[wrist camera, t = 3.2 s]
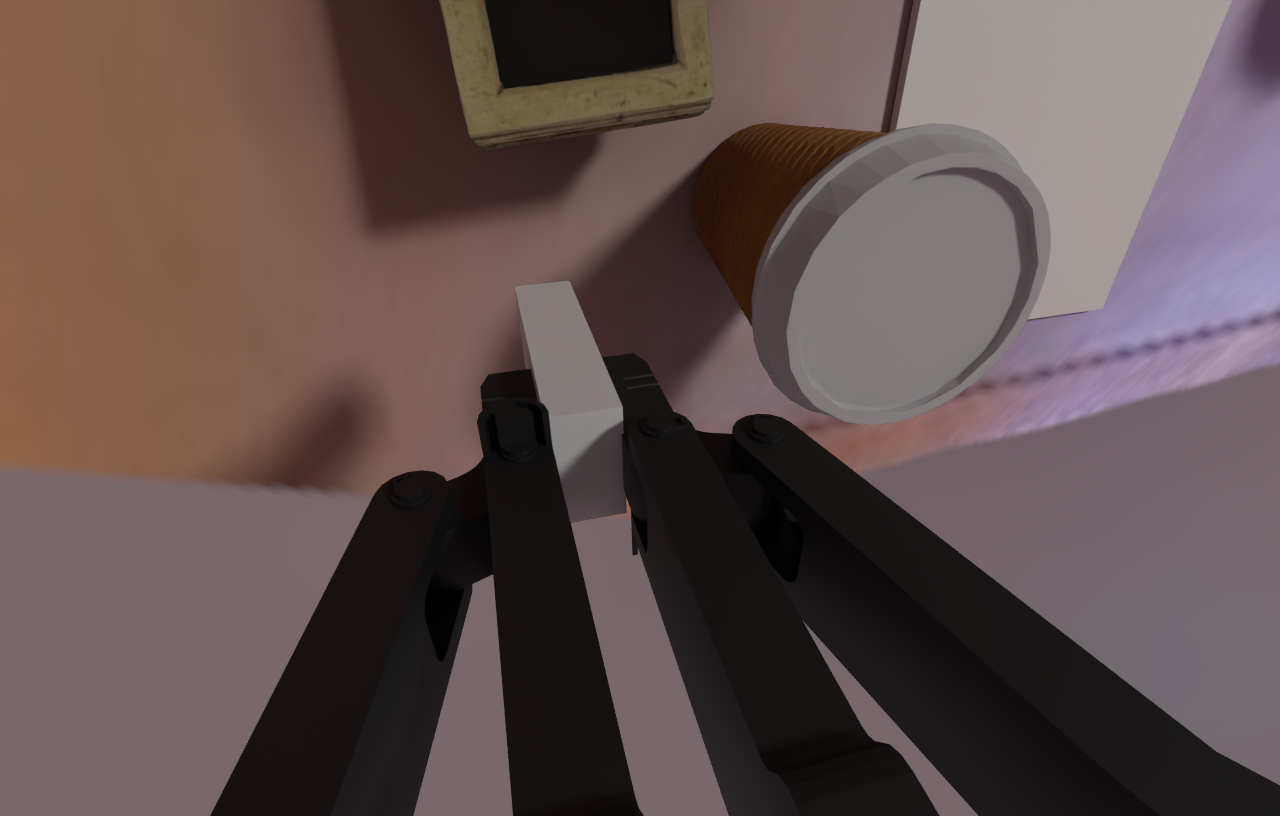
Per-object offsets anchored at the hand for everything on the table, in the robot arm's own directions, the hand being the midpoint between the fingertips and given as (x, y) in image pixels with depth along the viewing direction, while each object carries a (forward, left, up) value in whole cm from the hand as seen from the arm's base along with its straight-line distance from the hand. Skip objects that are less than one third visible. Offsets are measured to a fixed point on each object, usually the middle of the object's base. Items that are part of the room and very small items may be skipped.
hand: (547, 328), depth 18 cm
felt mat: (+25, 0, -10) cm, 27 cm away
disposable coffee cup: (+11, 0, -11) cm, 15 cm away
